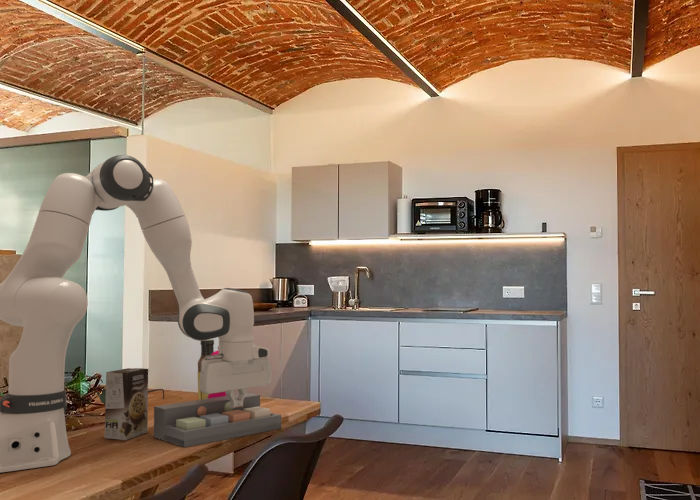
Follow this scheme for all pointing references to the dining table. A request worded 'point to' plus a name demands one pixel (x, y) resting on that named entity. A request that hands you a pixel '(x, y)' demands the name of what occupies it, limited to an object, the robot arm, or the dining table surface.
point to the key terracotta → (237, 415)
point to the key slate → (215, 419)
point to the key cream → (258, 412)
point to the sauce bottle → (205, 350)
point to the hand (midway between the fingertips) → (236, 407)
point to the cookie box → (126, 403)
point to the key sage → (190, 423)
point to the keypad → (185, 438)
